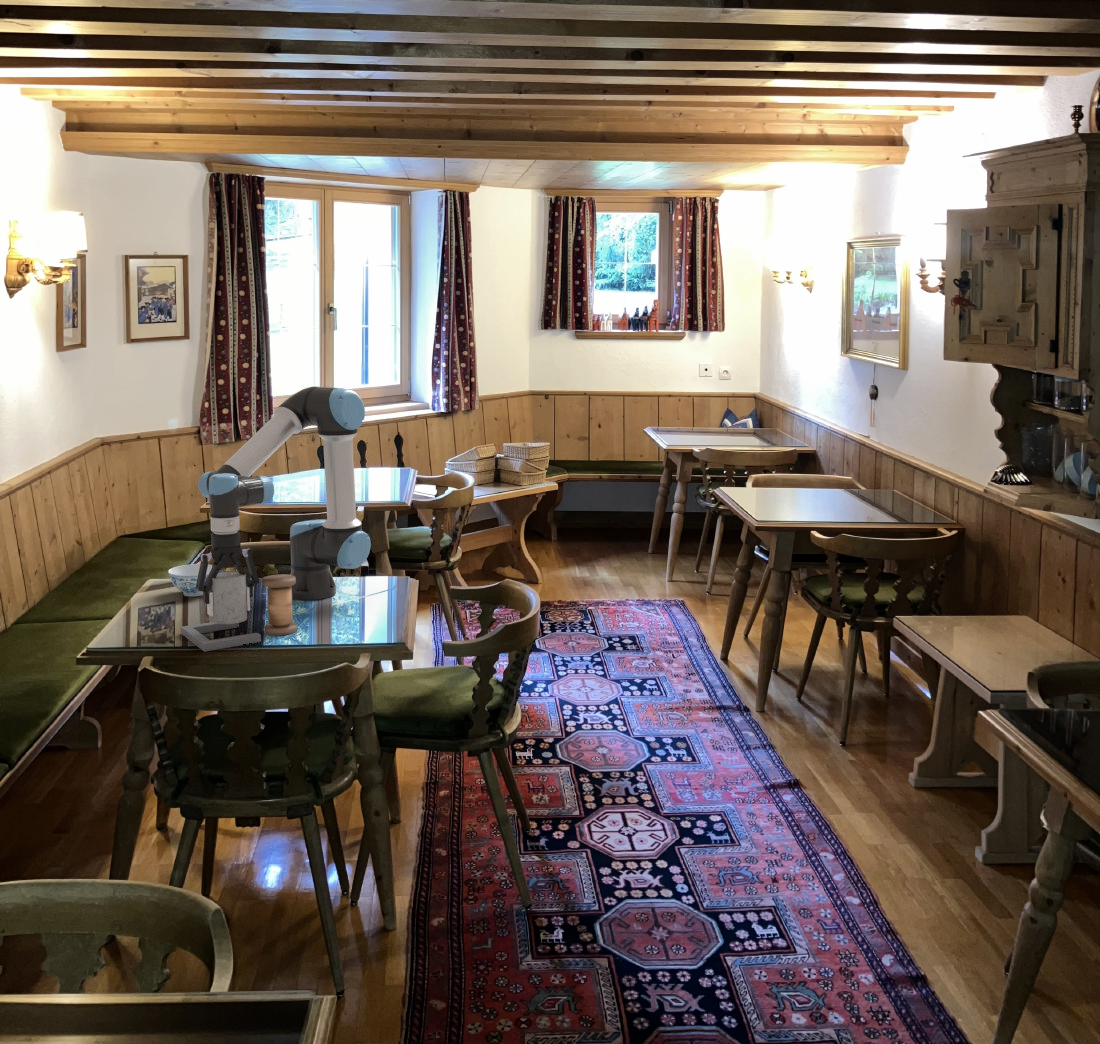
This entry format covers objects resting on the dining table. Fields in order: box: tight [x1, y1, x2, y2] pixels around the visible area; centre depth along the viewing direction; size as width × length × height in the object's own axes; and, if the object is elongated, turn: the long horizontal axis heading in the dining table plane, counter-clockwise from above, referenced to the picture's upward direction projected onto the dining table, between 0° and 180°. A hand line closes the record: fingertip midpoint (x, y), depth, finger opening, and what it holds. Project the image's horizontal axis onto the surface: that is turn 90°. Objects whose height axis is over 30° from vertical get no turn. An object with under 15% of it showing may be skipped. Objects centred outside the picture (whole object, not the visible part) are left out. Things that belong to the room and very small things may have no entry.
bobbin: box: [261, 573, 298, 636], centre depth 321 cm, size 9×9×15 cm
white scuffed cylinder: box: [210, 570, 248, 624], centre depth 315 cm, size 10×10×12 cm
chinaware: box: [167, 563, 213, 598], centre depth 360 cm, size 15×15×8 cm
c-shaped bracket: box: [180, 621, 262, 653], centre depth 315 cm, size 19×16×2 cm
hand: (229, 612), depth 316 cm, fingers closed on white scuffed cylinder, 9 cm apart
